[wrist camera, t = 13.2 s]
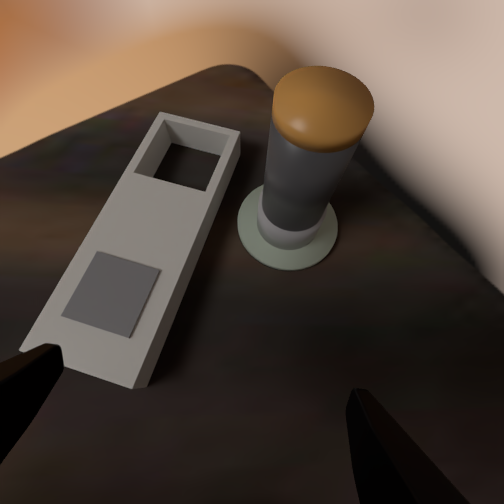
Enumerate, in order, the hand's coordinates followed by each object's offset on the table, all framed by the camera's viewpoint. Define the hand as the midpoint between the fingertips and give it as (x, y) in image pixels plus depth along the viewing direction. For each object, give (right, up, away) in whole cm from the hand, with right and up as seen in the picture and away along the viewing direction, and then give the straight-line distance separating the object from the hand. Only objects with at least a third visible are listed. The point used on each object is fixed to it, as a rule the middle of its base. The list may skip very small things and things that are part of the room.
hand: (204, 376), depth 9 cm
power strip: (-7, +5, +17) cm, 19 cm away
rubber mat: (+5, +6, +18) cm, 19 cm away
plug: (+5, +6, +17) cm, 19 cm away
